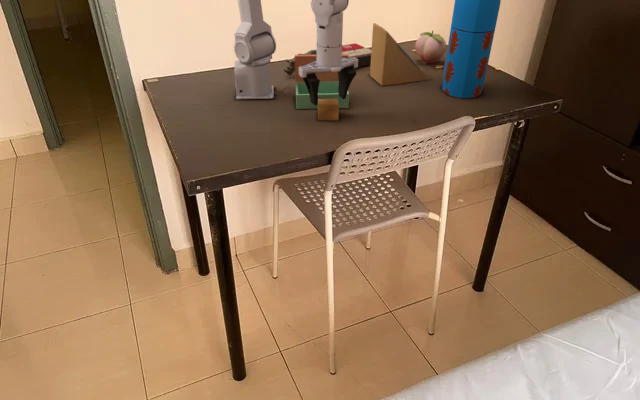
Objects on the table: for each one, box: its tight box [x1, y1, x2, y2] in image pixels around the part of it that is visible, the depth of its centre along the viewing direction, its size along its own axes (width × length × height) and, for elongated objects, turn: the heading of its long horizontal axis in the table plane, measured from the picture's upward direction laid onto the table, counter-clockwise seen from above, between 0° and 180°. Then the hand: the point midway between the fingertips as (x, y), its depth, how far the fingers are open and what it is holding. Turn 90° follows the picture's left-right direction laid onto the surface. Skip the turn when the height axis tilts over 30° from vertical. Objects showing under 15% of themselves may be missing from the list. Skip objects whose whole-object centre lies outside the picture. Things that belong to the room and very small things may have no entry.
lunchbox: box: [295, 81, 350, 110], centre depth 130 cm, size 8×13×4 cm, turn 93°
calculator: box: [342, 43, 372, 68], centre depth 153 cm, size 11×4×15 cm
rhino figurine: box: [283, 50, 311, 77], centre depth 145 cm, size 4×14×6 cm, turn 133°
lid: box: [294, 49, 349, 83], centre depth 129 cm, size 9×13×4 cm
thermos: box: [441, 0, 502, 99], centre depth 130 cm, size 11×11×25 cm
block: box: [317, 99, 340, 121], centre depth 122 cm, size 5×4×4 cm
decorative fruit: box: [414, 30, 447, 65], centre depth 152 cm, size 9×8×10 cm
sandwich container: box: [369, 22, 431, 87], centre depth 141 cm, size 9×15×15 cm, turn 109°
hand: (328, 100), depth 121 cm, fingers open, 7 cm apart
